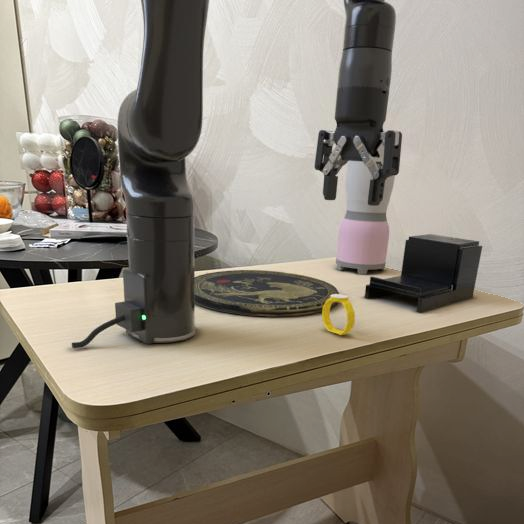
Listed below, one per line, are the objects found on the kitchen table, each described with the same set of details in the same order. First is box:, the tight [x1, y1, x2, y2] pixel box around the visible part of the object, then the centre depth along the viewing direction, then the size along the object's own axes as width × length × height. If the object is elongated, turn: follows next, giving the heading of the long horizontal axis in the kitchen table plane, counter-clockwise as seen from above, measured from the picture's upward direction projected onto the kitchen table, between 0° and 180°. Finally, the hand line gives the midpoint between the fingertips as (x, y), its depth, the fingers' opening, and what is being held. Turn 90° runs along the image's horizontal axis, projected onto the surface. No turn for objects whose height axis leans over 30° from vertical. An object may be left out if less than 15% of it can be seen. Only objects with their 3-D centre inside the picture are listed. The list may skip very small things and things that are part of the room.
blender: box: [335, 130, 396, 275], centre depth 126 cm, size 16×12×32 cm
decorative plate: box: [194, 269, 340, 318], centre depth 101 cm, size 30×2×30 cm
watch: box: [321, 293, 356, 336], centre depth 80 cm, size 6×3×6 cm, turn 35°
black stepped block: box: [364, 233, 483, 314], centre depth 103 cm, size 20×13×11 cm, turn 132°
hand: (350, 202), depth 81 cm, fingers open, 8 cm apart
